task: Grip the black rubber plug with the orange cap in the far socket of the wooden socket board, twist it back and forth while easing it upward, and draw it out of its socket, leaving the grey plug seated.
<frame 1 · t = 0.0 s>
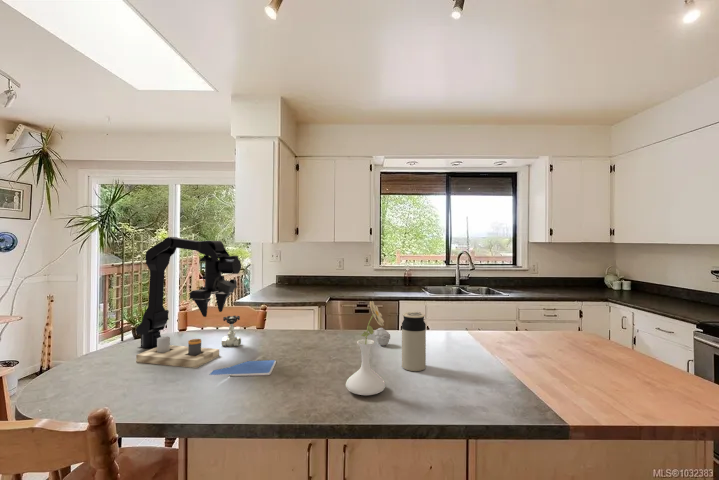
hand: (212, 314, 127), 15 cm above the counter, tool pointing down, fingers open, 9 cm apart
tablet computer: (243, 371, 111), on the counter
travel mug: (413, 368, 113), on the counter
valve: (231, 347, 134), on the counter
crumpled paper ball: (382, 345, 137), on the counter
capped plug: (194, 350, 117), point 4 cm above the counter, slide at 0.0 cm
wooden socket board: (178, 360, 119), on the counter
grey plug: (163, 347, 120), point 4 cm above the counter, slide at 0.0 cm
flower in vase: (367, 390, 96), on the counter
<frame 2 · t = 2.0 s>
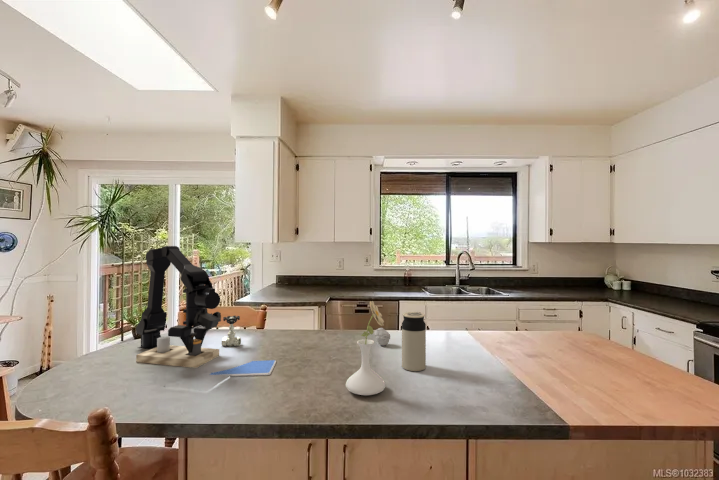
hand: (194, 350, 117), 4 cm above the counter, tool pointing down, fingers closed on capped plug, 4 cm apart
capped plug: (194, 350, 117), point 4 cm above the counter, slide at 0.0 cm, touching gripper, wooden socket board
everything else where it was.
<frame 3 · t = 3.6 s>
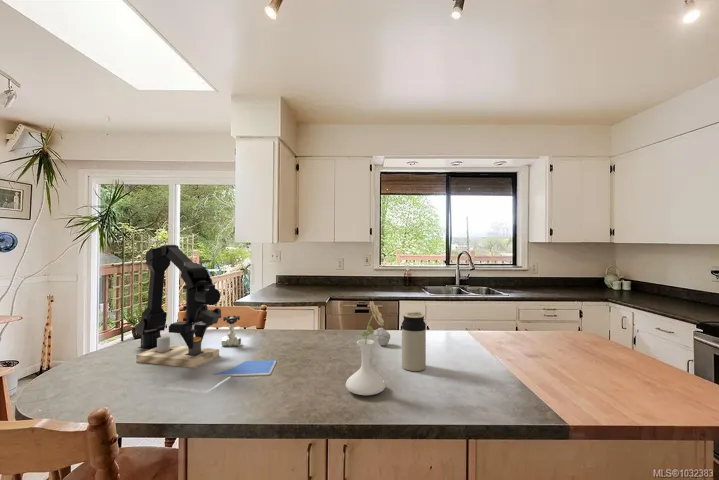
hand: (194, 346, 117), 5 cm above the counter, tool pointing down, fingers closed on capped plug, 4 cm apart
capped plug: (194, 347, 117), point 5 cm above the counter, slide at 0.8 cm, touching gripper
everything else where it was.
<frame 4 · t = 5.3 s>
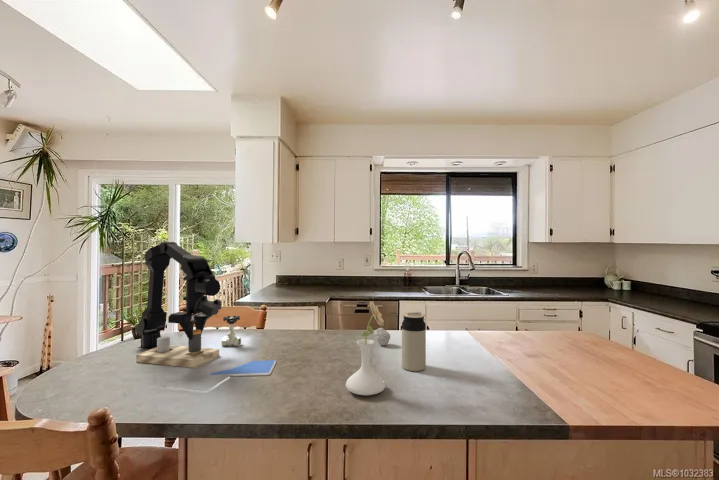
hand: (194, 337, 117), 8 cm above the counter, tool pointing down, fingers closed on capped plug, 4 cm apart
capped plug: (194, 340, 117), point 7 cm above the counter, slide at 3.4 cm, touching gripper
everything else where it was.
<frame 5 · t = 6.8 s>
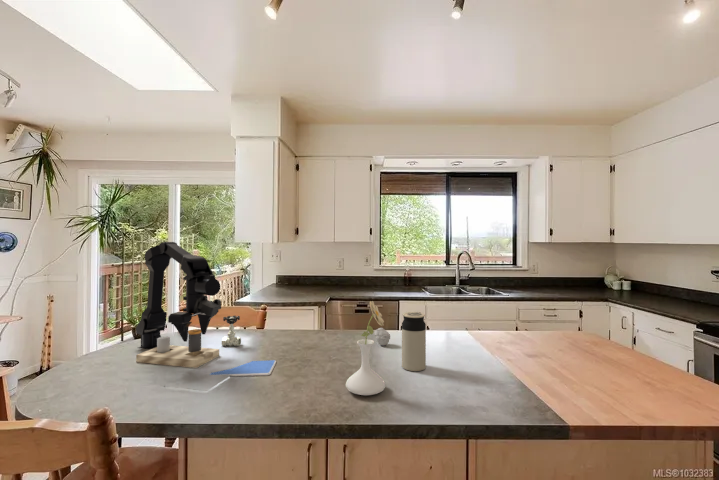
hand: (194, 337, 117), 8 cm above the counter, tool pointing down, fingers open, 9 cm apart
capped plug: (194, 340, 117), point 8 cm above the counter, slide at 3.5 cm
everything else where it was.
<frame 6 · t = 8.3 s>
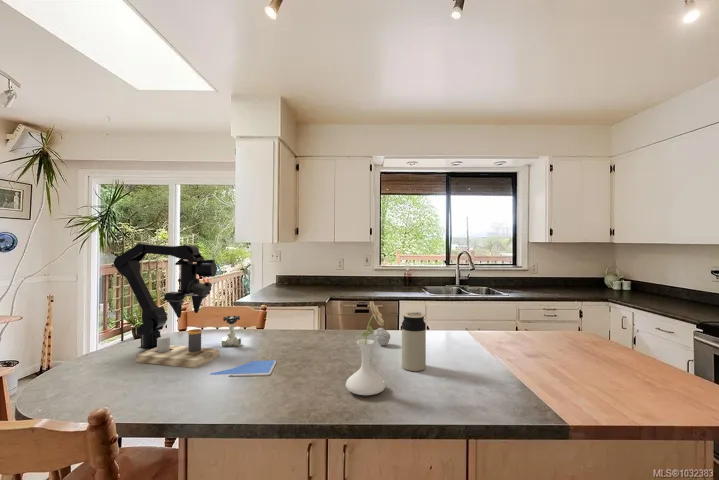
hand: (187, 315, 134), 13 cm above the counter, tool pointing down, fingers open, 9 cm apart
nothing on the counter moved.
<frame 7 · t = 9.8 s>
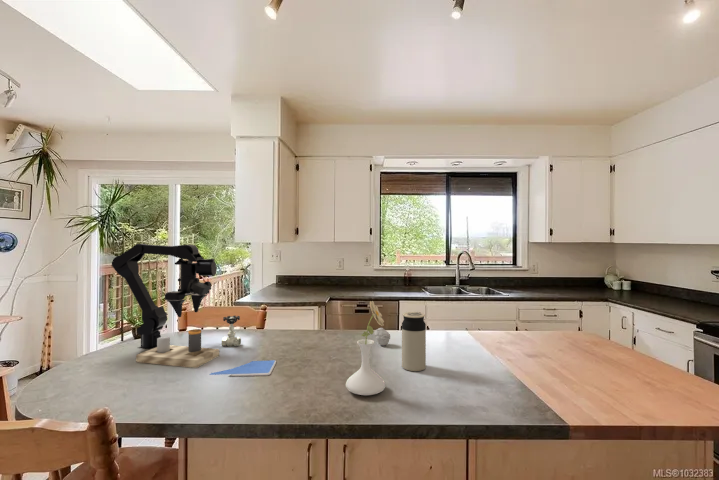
hand: (188, 314, 134), 13 cm above the counter, tool pointing down, fingers open, 9 cm apart
nothing on the counter moved.
at the end: capped plug slide at 3.5 cm; grey plug slide at 0.0 cm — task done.
